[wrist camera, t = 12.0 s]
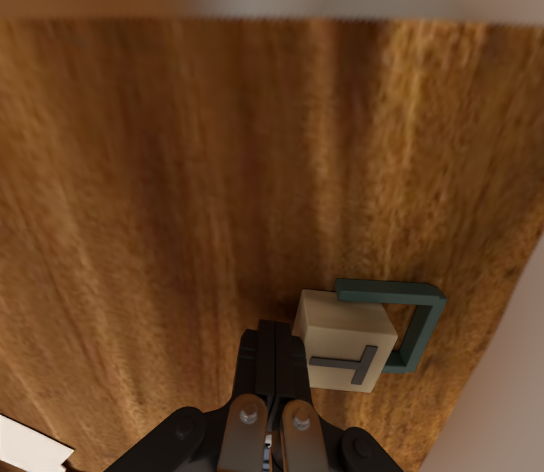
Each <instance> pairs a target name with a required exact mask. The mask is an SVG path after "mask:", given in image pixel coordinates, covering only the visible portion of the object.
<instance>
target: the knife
mask: <svg viewBox="0 0 544 472" xmlns="http://www.w3.org/2000/svg"><path fill="white" fill-rule="evenodd" d="M73 452H74V450H72V449H70V448H68V447H66V446H64V445H62V444H60V443H58V442H56V441H54V440H52V439H50V438H48V437H46V436H44V435H42V434H40V433H38V432H36V431H34V430H32V429H30V428H28V427H26V426H23V425H21V424H19V423H17V422H15V421H13V420H11V419H8V418H6V417H4V416H2V415H0V460H2V461H5V462H7V463H9V464H12V465H14V466H16V467H19V468H21V469H23V470H26V471H28V472H65V471H66V468H65V467H64V466H63V465H61V464H62V463H63V462H64V461H65V460H66V459H67V458H68V457H69V456H70V455H71V454H72V453H73Z"/></svg>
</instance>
